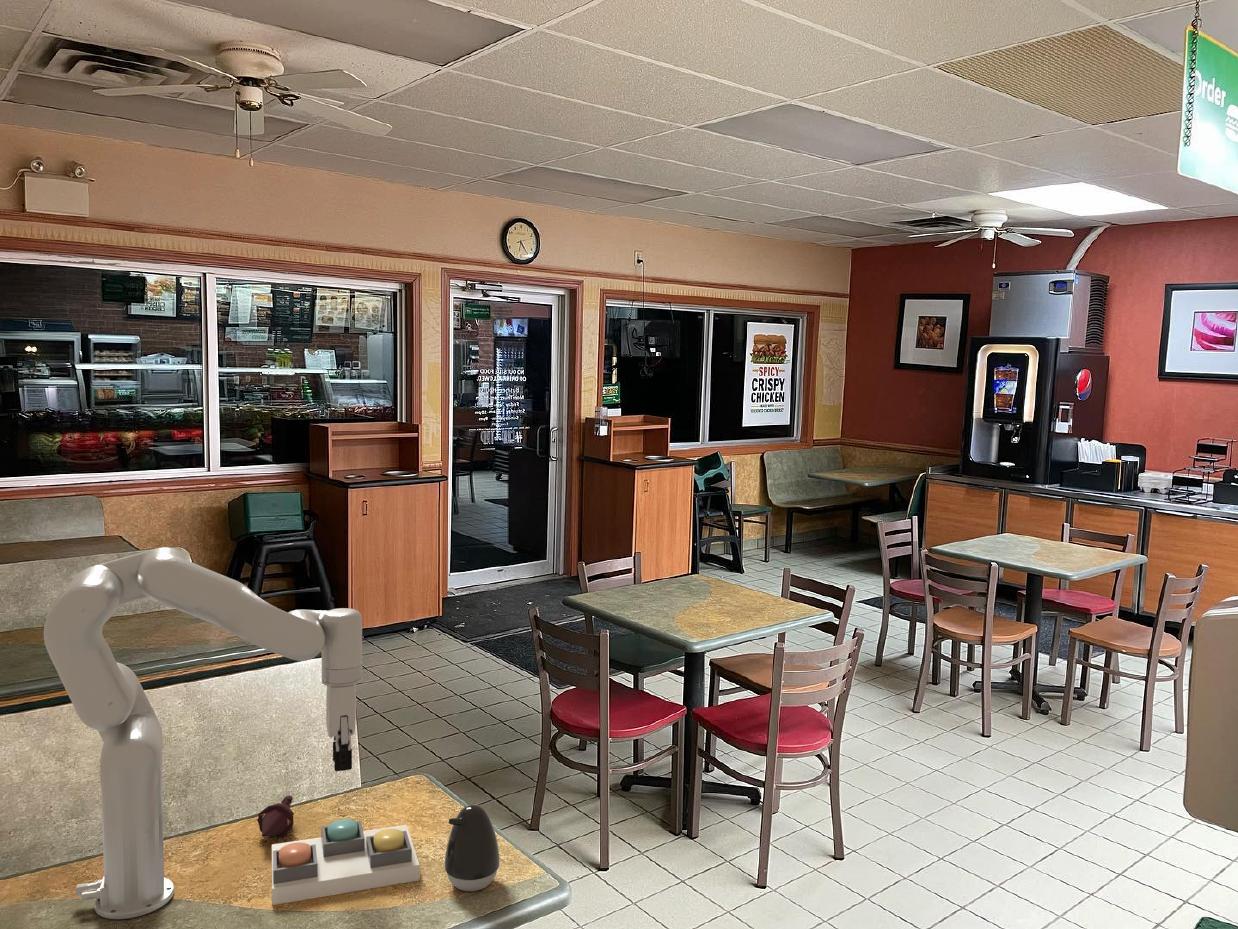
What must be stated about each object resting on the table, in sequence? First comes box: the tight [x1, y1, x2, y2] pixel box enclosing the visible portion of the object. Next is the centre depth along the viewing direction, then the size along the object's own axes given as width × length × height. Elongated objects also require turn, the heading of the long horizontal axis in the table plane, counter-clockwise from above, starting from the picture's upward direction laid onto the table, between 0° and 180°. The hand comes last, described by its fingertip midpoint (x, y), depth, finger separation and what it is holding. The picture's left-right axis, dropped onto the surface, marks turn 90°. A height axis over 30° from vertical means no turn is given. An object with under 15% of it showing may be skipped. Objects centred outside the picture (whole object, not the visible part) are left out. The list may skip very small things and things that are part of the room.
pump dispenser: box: [444, 803, 501, 892], centre depth 171 cm, size 10×10×15 cm
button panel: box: [271, 820, 420, 906], centre depth 176 cm, size 26×17×6 cm, turn 111°
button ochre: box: [374, 829, 404, 853], centre depth 176 cm, size 6×6×2 cm
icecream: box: [256, 795, 295, 839], centre depth 188 cm, size 7×7×15 cm
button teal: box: [327, 818, 358, 842], centre depth 179 cm, size 6×6×2 cm
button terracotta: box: [279, 843, 311, 868], centre depth 170 cm, size 6×6×2 cm
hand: (342, 764), depth 178 cm, fingers open, 3 cm apart
